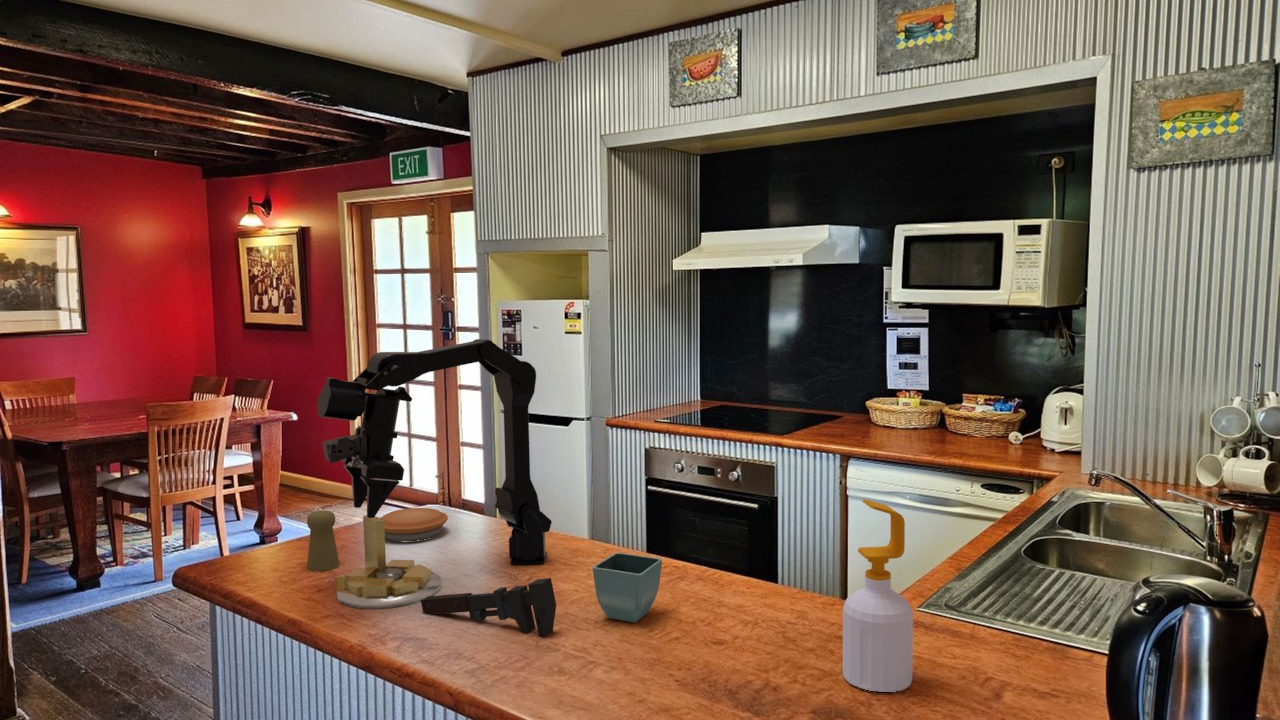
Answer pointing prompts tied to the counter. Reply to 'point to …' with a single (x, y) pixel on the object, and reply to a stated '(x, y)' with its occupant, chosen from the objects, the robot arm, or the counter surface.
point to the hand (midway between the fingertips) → (363, 512)
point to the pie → (413, 524)
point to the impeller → (391, 600)
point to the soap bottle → (879, 620)
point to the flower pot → (627, 585)
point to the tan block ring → (383, 567)
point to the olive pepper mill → (322, 542)
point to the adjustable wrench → (503, 605)
